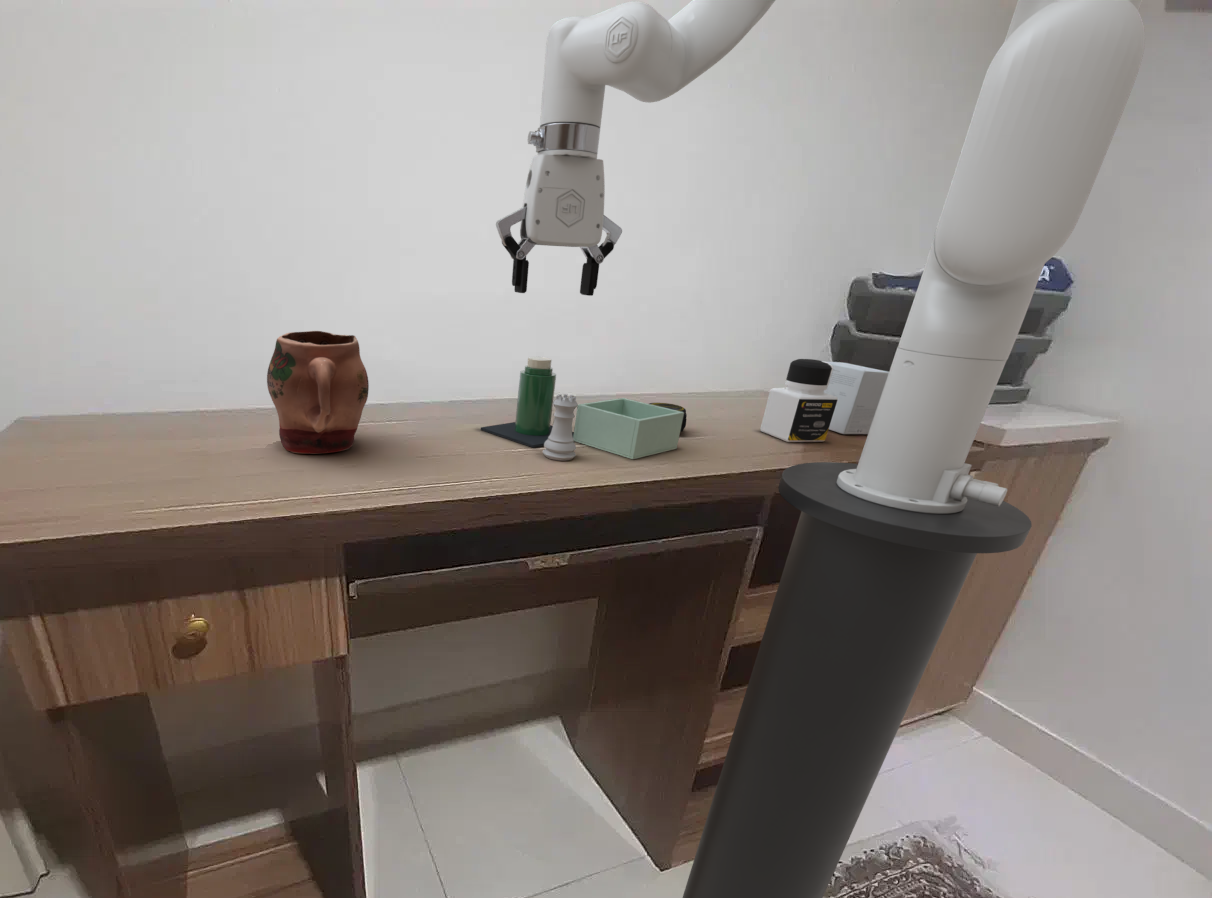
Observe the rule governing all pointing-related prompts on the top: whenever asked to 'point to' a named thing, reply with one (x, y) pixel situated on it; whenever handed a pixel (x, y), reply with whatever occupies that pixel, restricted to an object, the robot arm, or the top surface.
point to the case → (627, 427)
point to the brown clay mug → (317, 390)
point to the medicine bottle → (801, 404)
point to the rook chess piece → (562, 430)
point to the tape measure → (674, 407)
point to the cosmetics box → (855, 396)
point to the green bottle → (535, 397)
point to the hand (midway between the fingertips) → (553, 293)
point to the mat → (517, 434)
